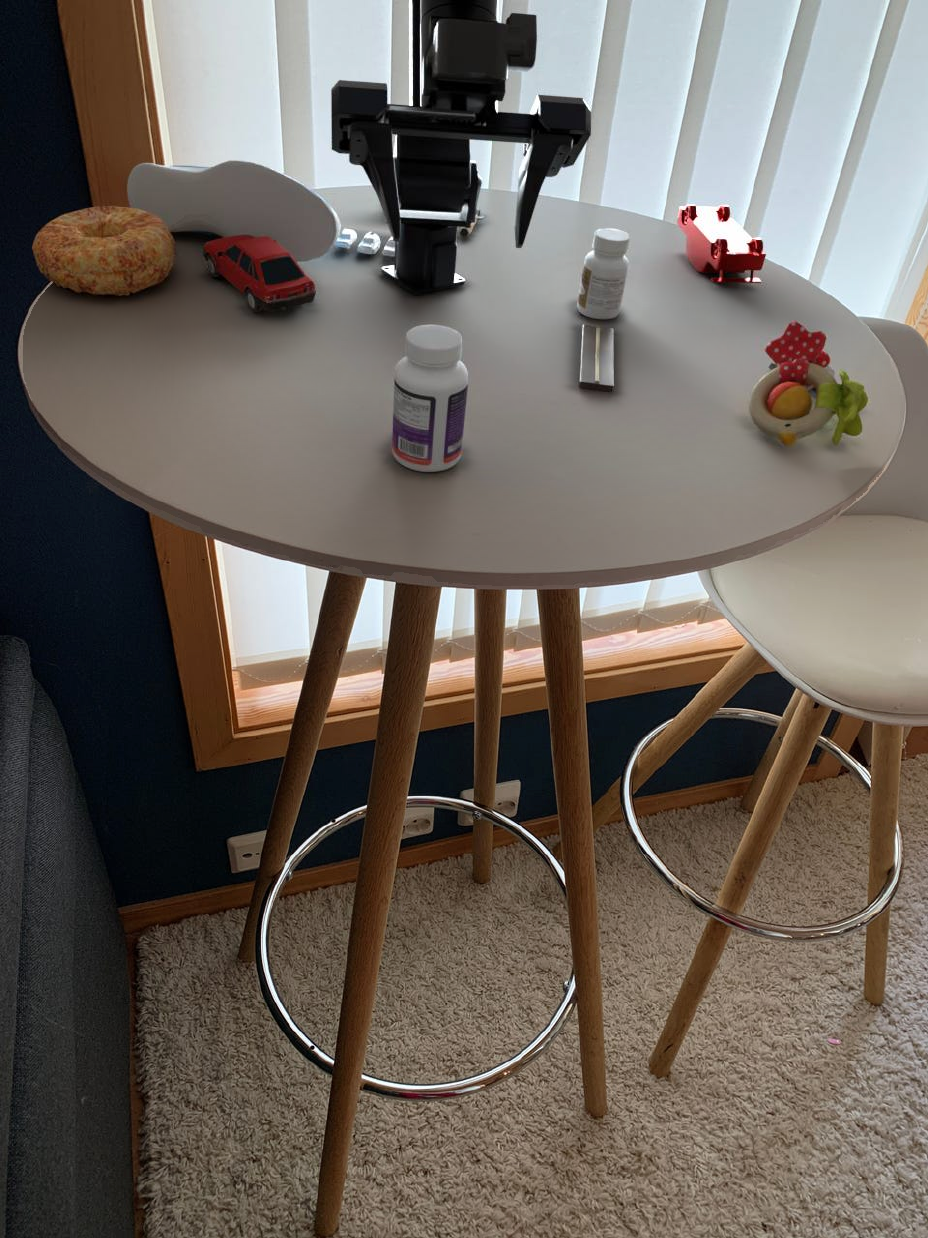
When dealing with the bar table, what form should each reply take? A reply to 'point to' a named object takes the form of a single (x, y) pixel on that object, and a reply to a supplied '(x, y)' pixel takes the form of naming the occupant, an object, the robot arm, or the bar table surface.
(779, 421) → the bird rattle
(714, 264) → the toy car
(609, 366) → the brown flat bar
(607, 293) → the pill bottle
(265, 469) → the bar table surface
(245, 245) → the toy car
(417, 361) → the pill bottle
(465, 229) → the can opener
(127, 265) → the bagel
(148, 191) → the shoe
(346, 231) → the toy vehicle set
